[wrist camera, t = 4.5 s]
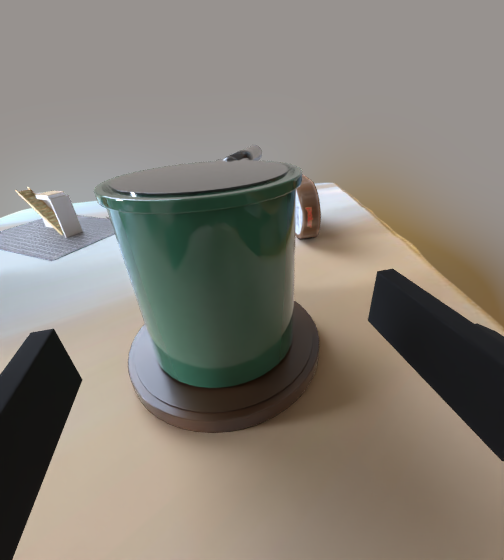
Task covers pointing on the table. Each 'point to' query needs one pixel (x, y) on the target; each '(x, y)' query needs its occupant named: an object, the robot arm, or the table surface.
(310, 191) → the tin
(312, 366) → the turntable
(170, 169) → the pot
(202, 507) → the table surface
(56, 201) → the model
